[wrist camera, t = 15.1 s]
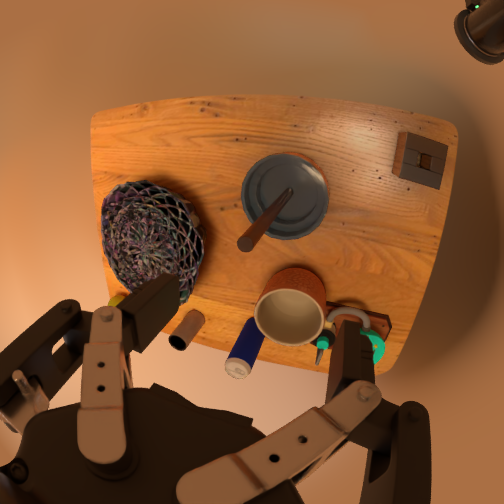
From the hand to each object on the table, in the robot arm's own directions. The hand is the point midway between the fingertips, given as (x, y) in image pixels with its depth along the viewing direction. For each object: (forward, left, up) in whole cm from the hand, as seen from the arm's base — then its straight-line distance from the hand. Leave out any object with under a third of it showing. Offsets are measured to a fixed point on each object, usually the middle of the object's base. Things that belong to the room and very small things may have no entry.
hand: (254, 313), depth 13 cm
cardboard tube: (+37, -21, -40) cm, 58 cm away
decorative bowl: (+17, -29, -40) cm, 52 cm away
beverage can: (+34, -6, -40) cm, 53 cm away
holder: (-8, +17, -40) cm, 44 cm away
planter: (+22, +1, -40) cm, 46 cm away
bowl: (+3, -4, -40) cm, 40 cm away
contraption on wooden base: (+28, +14, -40) cm, 51 cm away
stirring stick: (+3, -4, -39) cm, 39 cm away
